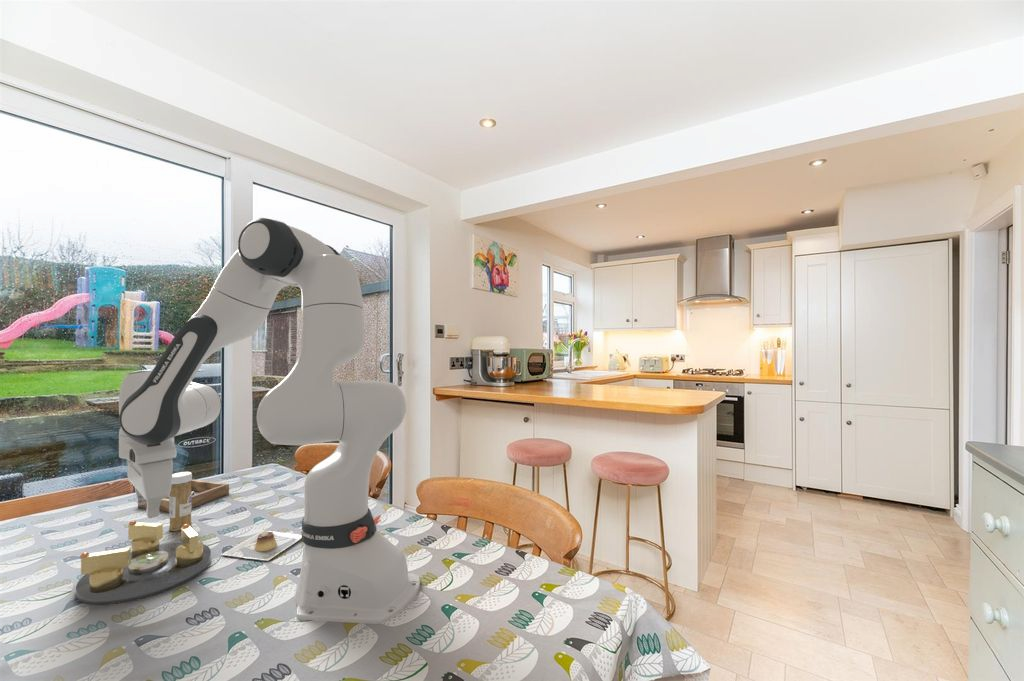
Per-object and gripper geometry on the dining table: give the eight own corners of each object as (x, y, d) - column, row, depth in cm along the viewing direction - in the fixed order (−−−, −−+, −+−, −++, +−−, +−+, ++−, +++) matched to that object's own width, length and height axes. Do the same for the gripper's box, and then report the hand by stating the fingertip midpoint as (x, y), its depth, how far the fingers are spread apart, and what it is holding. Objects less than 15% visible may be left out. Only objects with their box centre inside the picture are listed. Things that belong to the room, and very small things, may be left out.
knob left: (133, 575, 80) (133, 540, 80) (124, 587, 76) (124, 551, 76) (86, 583, 77) (86, 547, 77) (73, 597, 73) (73, 559, 73)
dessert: (263, 534, 103) (263, 515, 103) (306, 539, 100) (306, 519, 100) (220, 559, 91) (220, 537, 91) (268, 566, 89) (268, 543, 89)
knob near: (207, 562, 85) (207, 529, 85) (180, 571, 82) (180, 537, 82) (197, 551, 89) (197, 519, 89) (171, 559, 86) (171, 526, 86)
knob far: (169, 548, 90) (169, 517, 90) (149, 559, 86) (149, 526, 86) (140, 547, 91) (140, 516, 91) (119, 557, 87) (119, 525, 87)
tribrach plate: (233, 558, 91) (233, 538, 91) (127, 617, 71) (127, 592, 71) (164, 545, 96) (164, 527, 96) (47, 597, 76) (47, 575, 76)
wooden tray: (228, 493, 128) (229, 483, 128) (178, 513, 114) (178, 502, 114) (191, 489, 132) (191, 479, 132) (137, 507, 118) (137, 496, 118)
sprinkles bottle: (191, 528, 104) (191, 474, 104) (167, 533, 102) (167, 478, 102) (192, 522, 108) (192, 469, 108) (169, 526, 106) (169, 473, 106)
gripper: (118, 439, 93) (118, 501, 93) (137, 458, 80) (137, 530, 80) (154, 434, 98) (155, 493, 98) (179, 451, 85) (179, 519, 85)
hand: (147, 510), depth 89 cm, fingers open, 8 cm apart
